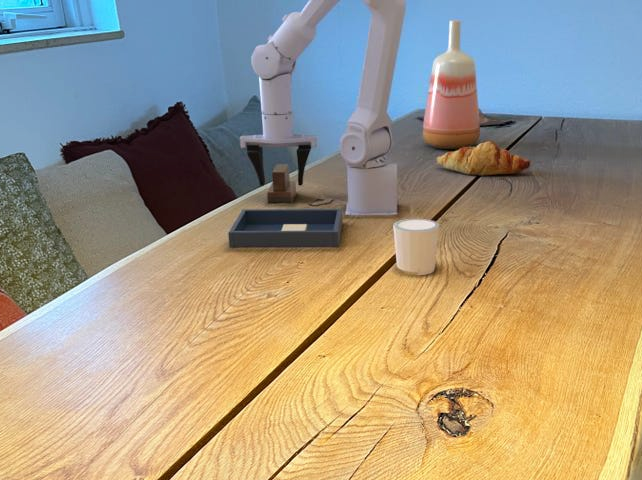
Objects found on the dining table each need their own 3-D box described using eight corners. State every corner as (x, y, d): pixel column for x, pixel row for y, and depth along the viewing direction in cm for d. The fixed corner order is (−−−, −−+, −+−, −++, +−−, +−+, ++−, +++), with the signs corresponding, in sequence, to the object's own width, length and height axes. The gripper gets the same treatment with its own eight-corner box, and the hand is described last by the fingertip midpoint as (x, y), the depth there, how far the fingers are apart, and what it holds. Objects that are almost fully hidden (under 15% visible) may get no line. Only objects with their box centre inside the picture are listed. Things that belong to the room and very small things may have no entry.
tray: (342, 225, 141) (342, 208, 139) (338, 250, 128) (337, 231, 127) (243, 226, 141) (241, 209, 139) (229, 250, 128) (228, 232, 127)
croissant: (433, 186, 179) (428, 158, 173) (443, 157, 185) (439, 128, 179) (527, 191, 173) (526, 162, 167) (534, 160, 179) (533, 131, 172)
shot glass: (443, 264, 122) (445, 220, 119) (431, 279, 116) (432, 233, 113) (401, 259, 124) (401, 216, 121) (387, 274, 118) (386, 228, 115)
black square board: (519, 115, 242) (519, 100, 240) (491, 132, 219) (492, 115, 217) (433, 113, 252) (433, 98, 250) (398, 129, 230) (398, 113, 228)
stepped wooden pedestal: (296, 193, 161) (294, 163, 158) (291, 205, 153) (289, 173, 150) (274, 193, 161) (271, 163, 158) (268, 205, 153) (265, 173, 150)
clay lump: (307, 230, 136) (307, 224, 135) (305, 237, 132) (304, 230, 132) (284, 231, 136) (283, 224, 136) (281, 238, 132) (280, 231, 132)
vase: (488, 144, 204) (495, 19, 191) (462, 154, 194) (467, 22, 180) (439, 139, 211) (442, 18, 198) (411, 148, 201) (413, 21, 187)
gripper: (317, 109, 153) (320, 179, 159) (242, 109, 153) (247, 179, 159) (314, 115, 147) (317, 187, 153) (235, 115, 147) (242, 188, 153)
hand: (281, 184), depth 156 cm, fingers open, 7 cm apart
